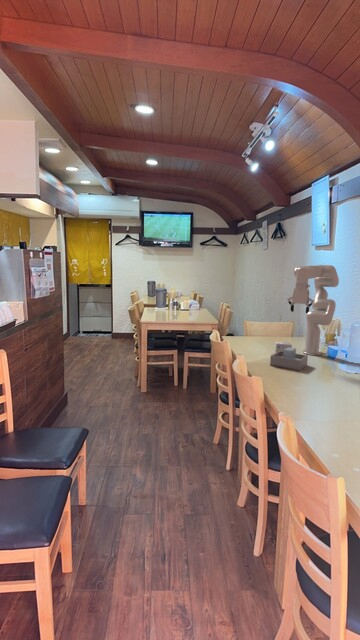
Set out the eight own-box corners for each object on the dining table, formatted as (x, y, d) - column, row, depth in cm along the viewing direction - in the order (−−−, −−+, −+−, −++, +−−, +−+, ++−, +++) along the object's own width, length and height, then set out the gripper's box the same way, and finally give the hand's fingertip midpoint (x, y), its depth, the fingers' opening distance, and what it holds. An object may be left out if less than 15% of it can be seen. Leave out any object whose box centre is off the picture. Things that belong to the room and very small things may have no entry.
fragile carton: (287, 357, 245) (288, 347, 244) (295, 358, 242) (296, 348, 241) (282, 360, 238) (283, 349, 237) (290, 361, 235) (291, 350, 234)
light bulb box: (289, 357, 262) (290, 342, 260) (291, 359, 255) (292, 344, 254) (273, 356, 263) (274, 341, 261) (275, 358, 256) (276, 343, 255)
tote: (279, 360, 253) (280, 350, 252) (307, 365, 242) (307, 355, 241) (270, 365, 239) (270, 355, 238) (298, 370, 229) (299, 360, 228)
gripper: (316, 287, 242) (314, 313, 245) (290, 285, 252) (288, 310, 255) (313, 287, 236) (311, 314, 239) (286, 285, 246) (284, 311, 249)
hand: (299, 312), depth 247 cm, fingers open, 9 cm apart
